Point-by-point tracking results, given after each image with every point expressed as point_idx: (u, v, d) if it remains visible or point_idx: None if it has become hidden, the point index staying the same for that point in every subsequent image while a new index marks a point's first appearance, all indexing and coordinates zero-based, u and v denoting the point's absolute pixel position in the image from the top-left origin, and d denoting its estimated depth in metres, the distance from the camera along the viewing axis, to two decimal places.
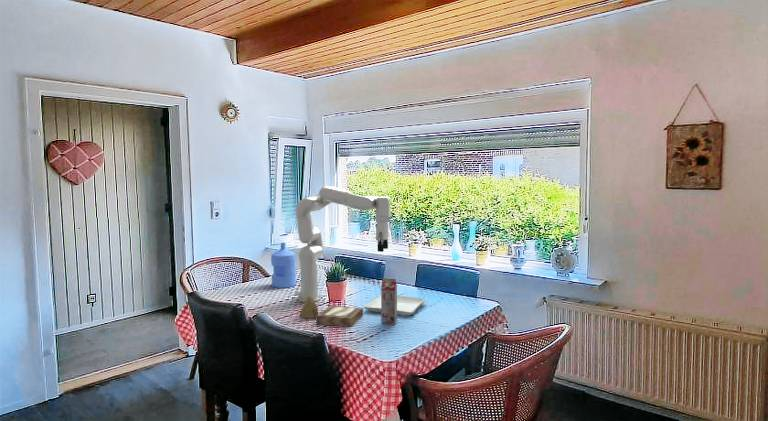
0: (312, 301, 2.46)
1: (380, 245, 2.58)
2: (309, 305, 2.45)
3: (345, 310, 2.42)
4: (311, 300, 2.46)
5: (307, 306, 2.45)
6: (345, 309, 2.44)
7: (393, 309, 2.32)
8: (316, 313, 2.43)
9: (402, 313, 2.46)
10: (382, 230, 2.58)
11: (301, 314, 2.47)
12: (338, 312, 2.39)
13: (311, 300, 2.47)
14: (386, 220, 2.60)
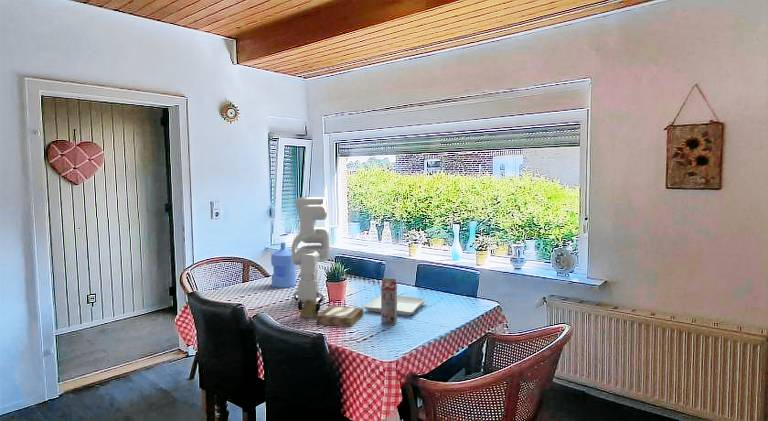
0: (312, 301, 2.46)
1: (319, 304, 2.43)
2: (309, 305, 2.45)
3: (345, 310, 2.42)
4: None
5: (307, 306, 2.45)
6: (345, 309, 2.44)
7: (393, 309, 2.32)
8: (316, 313, 2.43)
9: (402, 313, 2.46)
10: (318, 288, 2.44)
11: (301, 314, 2.47)
12: (338, 312, 2.39)
13: None
14: None
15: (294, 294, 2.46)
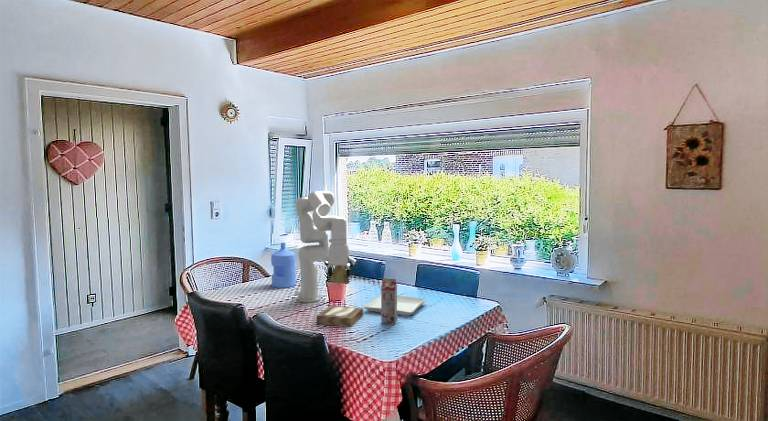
0: (343, 266, 2.41)
1: (350, 270, 2.38)
2: (340, 270, 2.39)
3: (345, 310, 2.42)
4: None
5: (337, 271, 2.40)
6: (345, 309, 2.44)
7: (393, 309, 2.32)
8: (347, 278, 2.38)
9: (402, 313, 2.46)
10: None
11: (331, 280, 2.42)
12: (338, 312, 2.39)
13: None
14: None
15: (324, 259, 2.40)
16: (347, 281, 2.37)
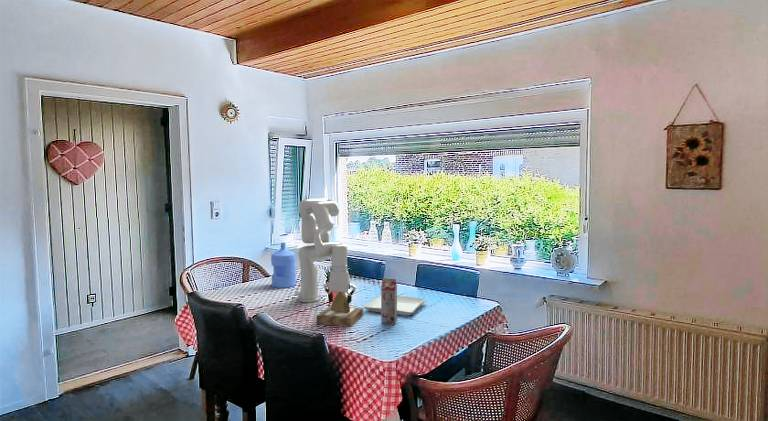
0: (343, 295, 2.42)
1: (351, 296, 2.39)
2: (340, 299, 2.41)
3: None
4: (342, 294, 2.42)
5: (338, 300, 2.41)
6: None
7: (393, 309, 2.32)
8: (347, 307, 2.39)
9: (402, 313, 2.46)
10: (349, 280, 2.39)
11: (332, 308, 2.43)
12: (338, 312, 2.39)
13: (343, 294, 2.42)
14: None
15: (325, 286, 2.41)
16: (348, 309, 2.39)
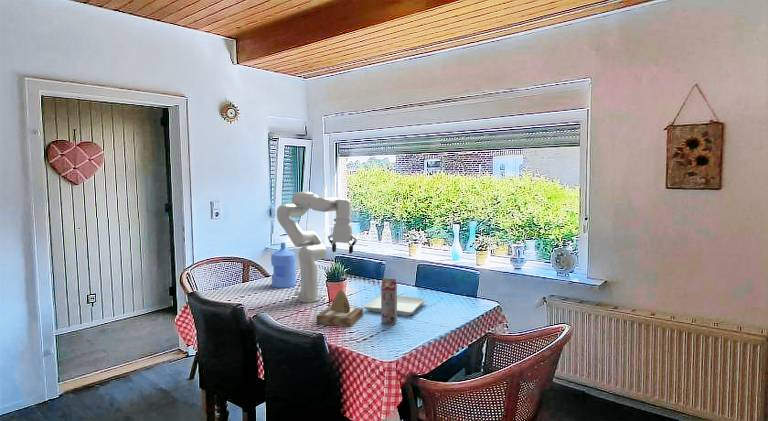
0: (343, 295, 2.42)
1: (352, 247, 2.60)
2: (340, 299, 2.41)
3: None
4: (342, 294, 2.42)
5: (338, 300, 2.41)
6: None
7: (393, 309, 2.32)
8: (347, 307, 2.39)
9: (402, 313, 2.46)
10: (351, 232, 2.60)
11: (332, 308, 2.43)
12: (338, 312, 2.39)
13: (343, 294, 2.42)
14: None
15: (329, 237, 2.63)
16: (348, 309, 2.39)
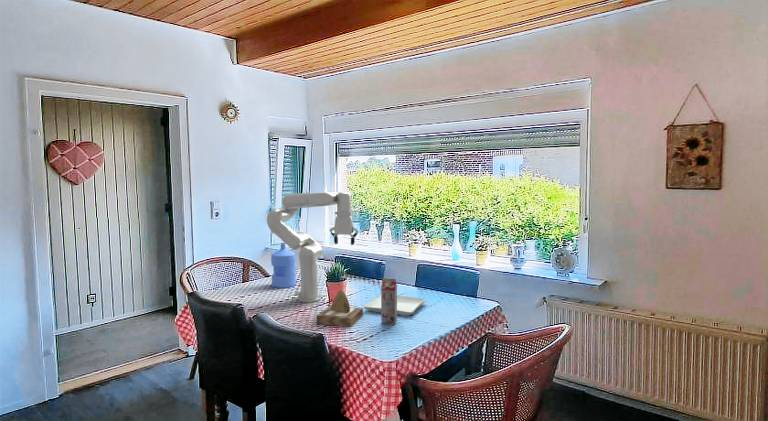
0: (343, 295, 2.42)
1: (354, 238, 2.69)
2: (340, 299, 2.41)
3: None
4: (342, 294, 2.42)
5: (338, 300, 2.41)
6: None
7: (393, 309, 2.32)
8: (347, 307, 2.39)
9: (402, 313, 2.46)
10: (352, 224, 2.69)
11: (332, 308, 2.43)
12: (338, 312, 2.39)
13: (343, 294, 2.42)
14: None
15: (331, 230, 2.72)
16: (348, 309, 2.39)
